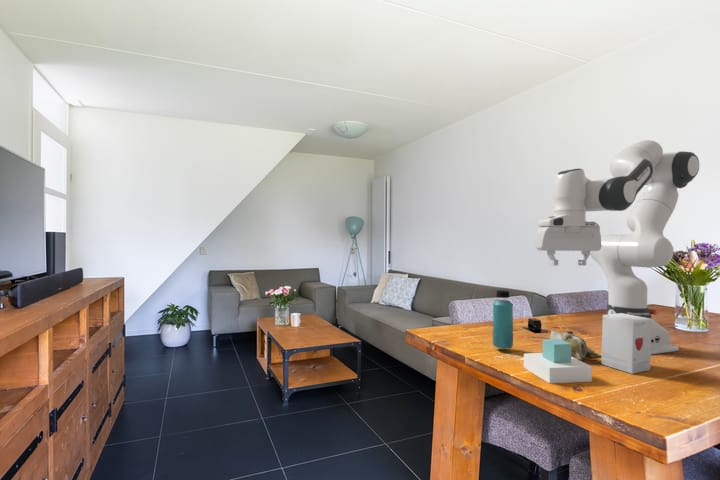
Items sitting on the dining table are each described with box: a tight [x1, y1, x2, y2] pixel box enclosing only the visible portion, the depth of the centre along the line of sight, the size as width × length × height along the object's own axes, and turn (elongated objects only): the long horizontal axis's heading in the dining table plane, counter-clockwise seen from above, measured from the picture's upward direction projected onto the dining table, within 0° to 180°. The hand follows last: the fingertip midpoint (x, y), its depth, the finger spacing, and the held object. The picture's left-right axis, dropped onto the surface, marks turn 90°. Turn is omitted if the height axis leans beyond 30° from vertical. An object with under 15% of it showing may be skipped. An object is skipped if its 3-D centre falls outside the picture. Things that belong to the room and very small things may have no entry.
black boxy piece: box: [521, 317, 549, 334], centre depth 154 cm, size 13×8×5 cm, turn 8°
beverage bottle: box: [492, 289, 514, 350], centre depth 125 cm, size 6×7×20 cm
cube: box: [542, 338, 571, 363], centre depth 104 cm, size 5×5×5 cm
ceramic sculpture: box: [549, 329, 602, 362], centre depth 118 cm, size 11×9×15 cm
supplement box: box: [600, 313, 653, 375], centre depth 110 cm, size 9×9×15 cm
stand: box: [523, 352, 593, 384], centre depth 104 cm, size 12×12×4 cm
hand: (568, 265), depth 117 cm, fingers open, 8 cm apart
